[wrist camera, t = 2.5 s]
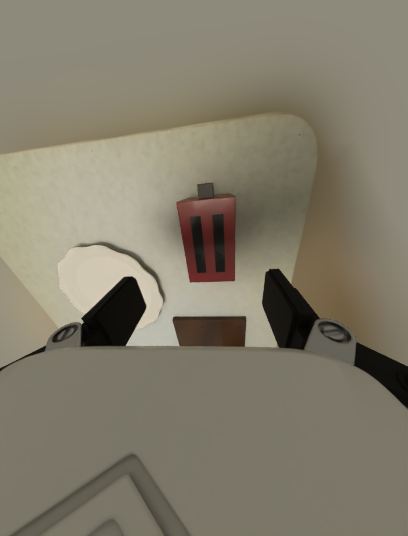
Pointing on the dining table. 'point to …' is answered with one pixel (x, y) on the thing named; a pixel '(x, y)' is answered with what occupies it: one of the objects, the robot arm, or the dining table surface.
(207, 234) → the toaster
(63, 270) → the plate
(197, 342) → the board
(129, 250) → the dining table surface
